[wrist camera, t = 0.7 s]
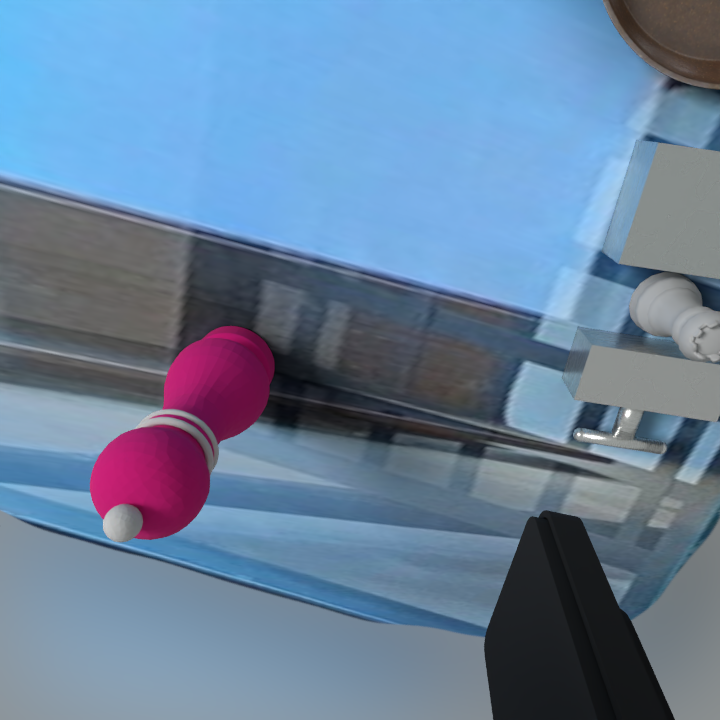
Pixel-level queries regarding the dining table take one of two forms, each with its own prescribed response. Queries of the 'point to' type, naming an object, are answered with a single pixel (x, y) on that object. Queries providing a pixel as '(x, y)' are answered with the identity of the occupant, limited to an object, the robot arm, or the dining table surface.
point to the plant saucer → (673, 36)
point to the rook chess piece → (677, 315)
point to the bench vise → (661, 252)
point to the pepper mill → (182, 436)
